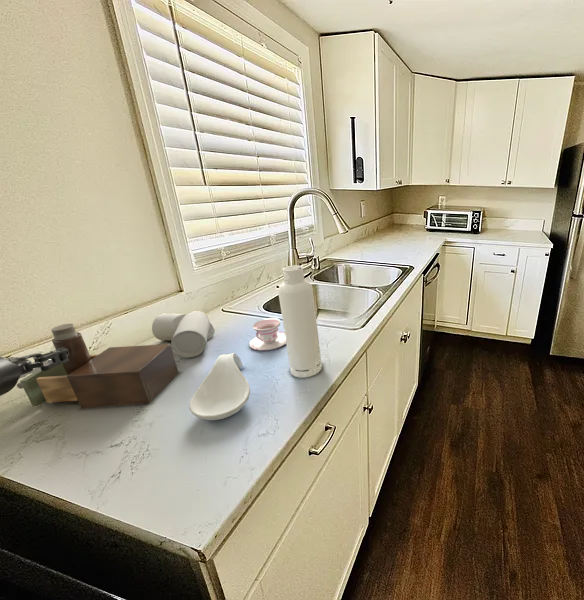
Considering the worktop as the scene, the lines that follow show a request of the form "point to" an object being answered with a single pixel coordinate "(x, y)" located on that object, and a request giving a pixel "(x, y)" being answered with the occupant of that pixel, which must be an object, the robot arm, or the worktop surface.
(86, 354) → the pepper mill
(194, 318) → the l-shaped cylinder
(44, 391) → the drawer
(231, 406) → the spoon rest
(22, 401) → the worktop surface
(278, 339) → the teacup
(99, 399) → the cabinet
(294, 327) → the bottle
